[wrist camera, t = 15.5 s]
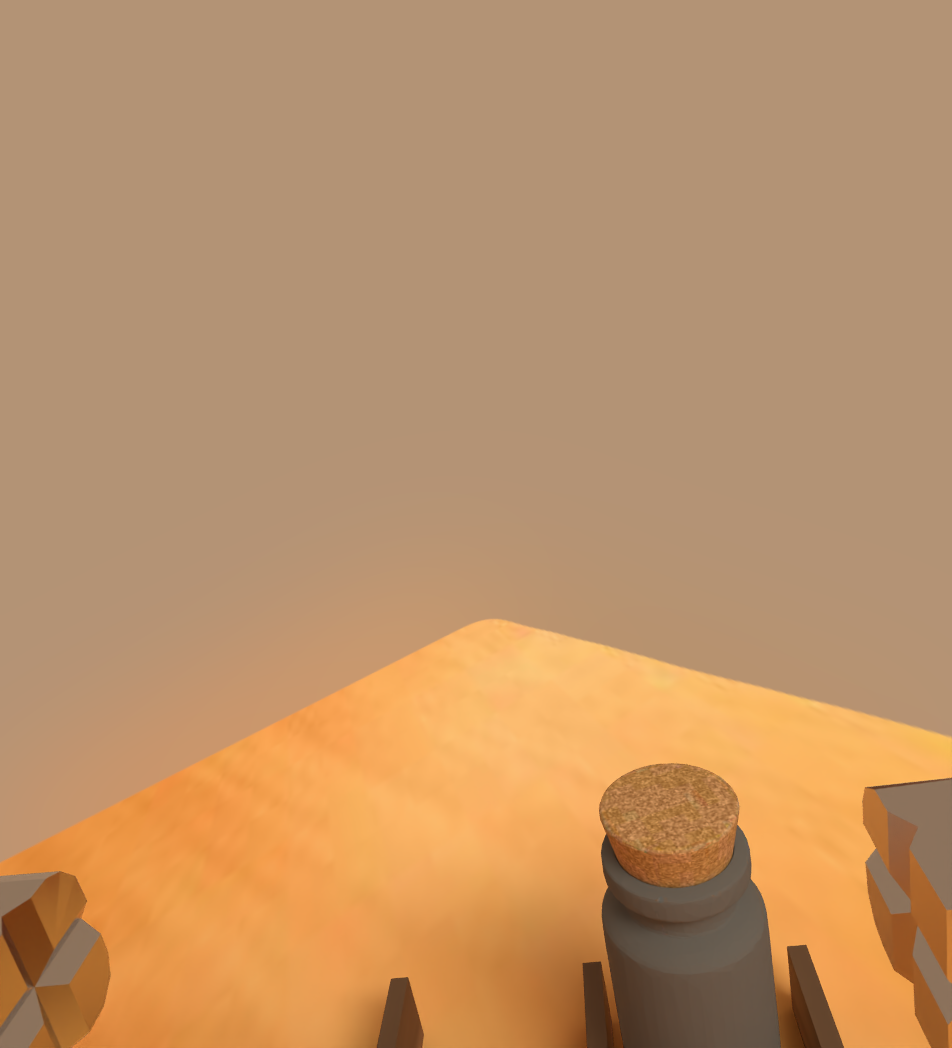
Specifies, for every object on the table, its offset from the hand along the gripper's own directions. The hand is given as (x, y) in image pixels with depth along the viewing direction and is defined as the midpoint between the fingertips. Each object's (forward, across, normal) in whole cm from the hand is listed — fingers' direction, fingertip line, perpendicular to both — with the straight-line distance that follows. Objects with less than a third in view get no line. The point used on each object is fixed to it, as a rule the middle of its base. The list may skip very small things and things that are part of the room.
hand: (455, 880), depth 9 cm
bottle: (+18, -3, +28) cm, 33 cm away
